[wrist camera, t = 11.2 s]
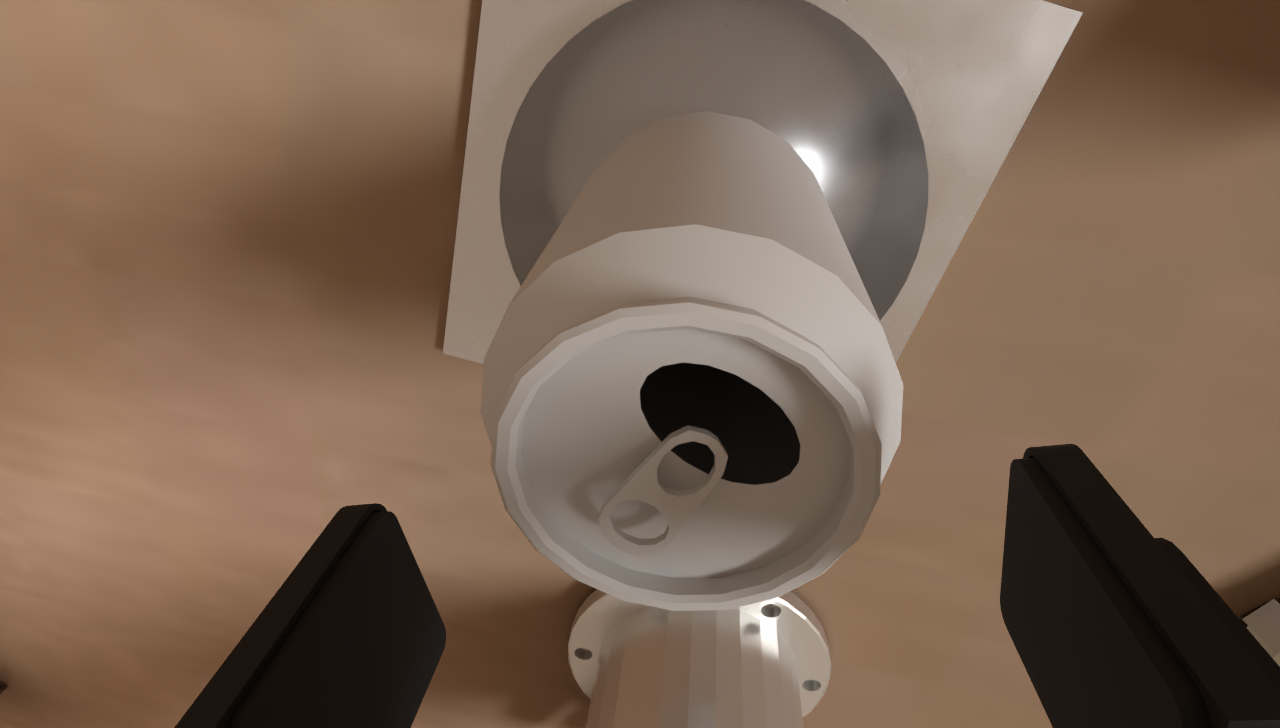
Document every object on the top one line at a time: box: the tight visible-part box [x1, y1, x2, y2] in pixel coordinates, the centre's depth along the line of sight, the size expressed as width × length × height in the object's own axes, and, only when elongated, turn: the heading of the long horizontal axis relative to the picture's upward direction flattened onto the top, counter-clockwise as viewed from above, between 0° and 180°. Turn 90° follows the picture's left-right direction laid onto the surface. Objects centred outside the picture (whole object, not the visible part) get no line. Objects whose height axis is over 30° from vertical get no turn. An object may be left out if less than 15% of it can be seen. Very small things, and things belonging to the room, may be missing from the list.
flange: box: [443, 0, 1082, 364], centre depth 21 cm, size 16×16×2 cm
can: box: [481, 111, 903, 611], centre depth 16 cm, size 8×8×12 cm
